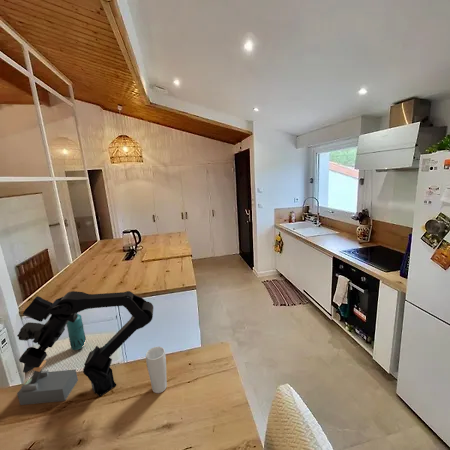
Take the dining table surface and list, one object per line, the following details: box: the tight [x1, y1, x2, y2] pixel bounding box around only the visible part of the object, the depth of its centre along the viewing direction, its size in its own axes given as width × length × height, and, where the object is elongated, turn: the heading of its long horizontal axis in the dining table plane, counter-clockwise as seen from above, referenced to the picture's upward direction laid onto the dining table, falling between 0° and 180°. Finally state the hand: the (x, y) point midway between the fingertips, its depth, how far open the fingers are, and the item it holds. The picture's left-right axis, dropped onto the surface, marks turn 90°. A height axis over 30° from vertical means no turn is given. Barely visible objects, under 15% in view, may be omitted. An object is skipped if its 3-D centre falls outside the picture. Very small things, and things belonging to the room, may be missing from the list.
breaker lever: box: [31, 359, 47, 384], centre depth 91 cm, size 2×3×8 cm
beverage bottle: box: [66, 313, 87, 351], centre depth 114 cm, size 6×7×20 cm
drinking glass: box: [145, 346, 168, 394], centre depth 91 cm, size 7×7×15 cm
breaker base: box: [16, 368, 79, 406], centre depth 92 cm, size 16×9×6 cm, turn 93°
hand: (32, 362), depth 87 cm, fingers open, 9 cm apart
